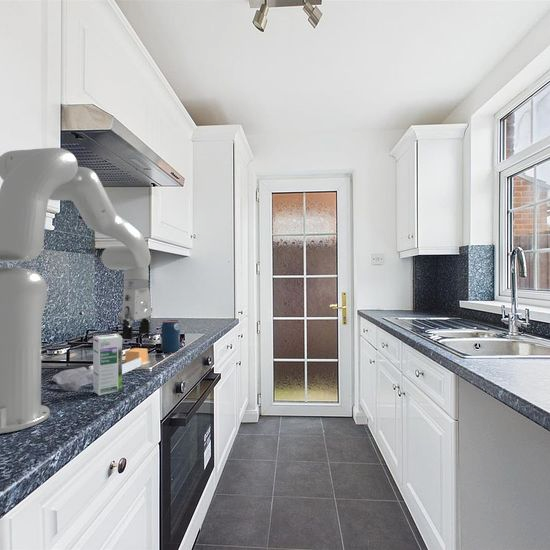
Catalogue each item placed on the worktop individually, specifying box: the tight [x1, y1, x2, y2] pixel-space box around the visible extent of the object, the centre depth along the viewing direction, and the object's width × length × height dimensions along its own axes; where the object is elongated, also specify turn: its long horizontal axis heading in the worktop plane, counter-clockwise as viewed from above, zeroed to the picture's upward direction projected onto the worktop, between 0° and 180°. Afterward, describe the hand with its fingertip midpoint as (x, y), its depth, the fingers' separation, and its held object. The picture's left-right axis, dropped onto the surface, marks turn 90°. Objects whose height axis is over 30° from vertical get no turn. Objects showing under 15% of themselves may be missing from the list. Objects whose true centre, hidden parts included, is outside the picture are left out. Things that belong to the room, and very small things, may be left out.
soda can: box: [160, 319, 181, 354], centre depth 139 cm, size 7×7×12 cm
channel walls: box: [88, 358, 142, 375], centre depth 108 cm, size 13×9×4 cm, turn 168°
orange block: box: [124, 347, 149, 363], centre depth 119 cm, size 5×5×4 cm
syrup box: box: [92, 333, 123, 397], centre depth 92 cm, size 6×6×14 cm
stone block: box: [52, 366, 93, 392], centre depth 98 cm, size 12×5×10 cm
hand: (136, 336), depth 118 cm, fingers open, 9 cm apart
